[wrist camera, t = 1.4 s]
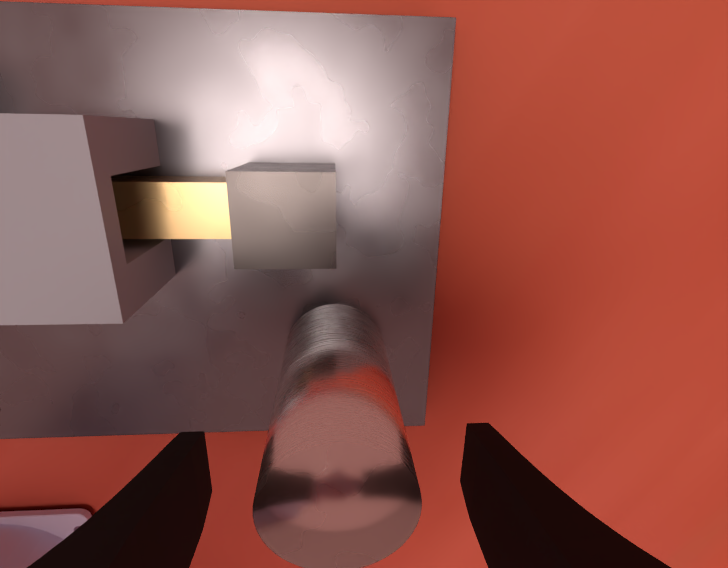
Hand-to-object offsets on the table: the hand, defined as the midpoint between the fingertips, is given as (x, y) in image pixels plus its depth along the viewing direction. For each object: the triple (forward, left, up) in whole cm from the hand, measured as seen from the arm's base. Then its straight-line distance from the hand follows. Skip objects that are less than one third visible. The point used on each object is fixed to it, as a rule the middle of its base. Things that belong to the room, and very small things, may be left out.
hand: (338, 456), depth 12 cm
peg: (0, 0, -6) cm, 6 cm away
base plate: (+4, +9, -7) cm, 12 cm away
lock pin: (+6, +5, -6) cm, 10 cm away
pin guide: (+6, +8, -6) cm, 12 cm away
